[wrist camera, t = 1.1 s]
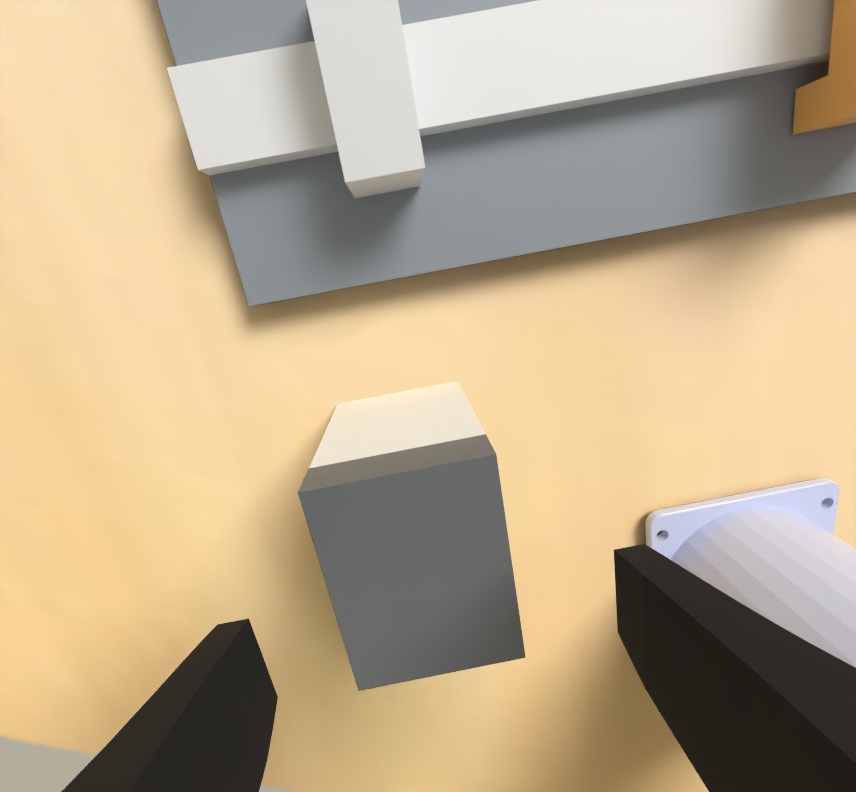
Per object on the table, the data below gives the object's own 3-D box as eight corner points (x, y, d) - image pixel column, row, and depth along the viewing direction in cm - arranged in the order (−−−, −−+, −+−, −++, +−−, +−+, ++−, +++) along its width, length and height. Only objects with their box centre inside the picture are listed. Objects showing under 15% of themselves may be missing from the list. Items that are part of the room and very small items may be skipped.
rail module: (480, 519, 18) (525, 657, 11) (372, 540, 18) (358, 690, 11) (457, 380, 16) (495, 454, 10) (337, 403, 16) (297, 492, 10)
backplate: (942, 174, 15) (1102, 147, 11) (258, 303, 14) (216, 314, 11) (1007, -220, 12) (1246, -411, 8) (150, -67, 12) (49, -204, 8)
